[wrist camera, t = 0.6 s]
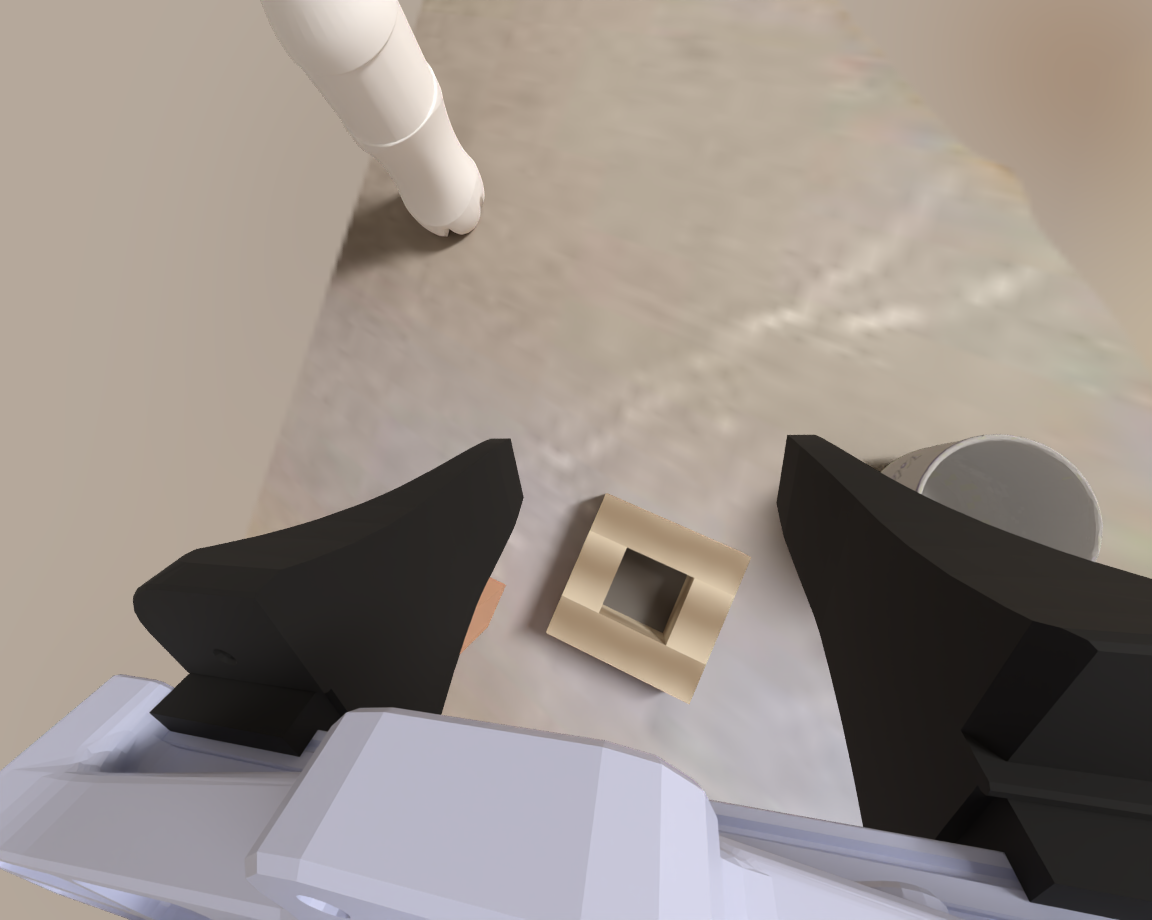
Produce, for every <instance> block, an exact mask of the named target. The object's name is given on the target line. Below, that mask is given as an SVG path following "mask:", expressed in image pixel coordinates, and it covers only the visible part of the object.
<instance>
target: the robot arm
mask: <svg viewBox="0 0 1152 920" xmlns="http://www.w3.org/2000/svg"><path fill="white" fill-rule="evenodd" d="M523 498H524V497H523V493H522V488H521V484H520V479H519V475H518V470H517V466H516V461H515V457H514V452H513V448H512V443H511V439H489V440H486V441H484V442H482V443H480V444H478V445H476V446H474V447H472V448H470V449H468V450H467V451H465V452H463V453H461V454H459V455H458V456H456V457H454V458H452V459H451V460H449V461H447V462H445V463H444V464H442V465H440V466H438V467H437V468H435V469H433V470H431V471H429V472H427V473H425V474H423V475H422V476H420V477H418V478H416V479H414V480H412V481H410V482H408V483H406V484H404V485H402V486H400V487H398V488H396V489H394V490H392V491H390V492H388V493H385V494H383V495H381V496H378V497H376V498H374V499H371V500H369V501H367V502H364V503H362V504H359V505H357V506H354V507H351V508H348V509H345V510H343V511H340V512H337V513H334V514H331V515H329V516H326V517H323V518H320V519H317V520H314V521H311V522H307V523H304V524H301V525H297V526H294V527H290V528H287V529H283V530H279V531H276V532H272V533H268V534H264V535H260V536H256V537H252V538H247V539H242V540H238V541H233V542H229V543H224V544H219V545H215V546H210V547H205V548H200V549H196V550H193V551H191V552H189V553H187V554H185V555H184V556H182V557H181V558H179V559H178V560H177V561H175V562H174V563H172V564H171V565H170V566H168V567H167V568H165V569H164V570H163V571H161V572H160V573H158V574H157V575H156V576H154V577H153V578H151V579H150V580H149V581H147V582H146V583H144V584H143V585H142V586H141V587H139V588H138V589H137V590H136V592H135V594H134V596H133V605H134V611H135V613H136V615H137V617H138V618H139V620H140V622H141V623H142V624H143V625H144V627H145V628H146V629H147V630H148V632H149V633H150V634H151V635H152V636H153V637H154V638H155V639H156V640H157V641H158V642H159V643H160V644H161V645H162V646H163V647H164V648H165V649H166V650H167V651H168V652H169V653H170V654H171V655H172V656H173V657H174V658H175V659H176V660H177V661H178V662H179V663H180V664H181V666H182V667H184V669H185V670H187V672H189V673H190V674H189V675H188V676H186V678H184V679H183V680H182V681H181V683H179V684H178V685H177V686H176V687H175V688H174V687H172V686H170V685H168V684H166V683H164V682H162V681H158V680H154V679H148V678H141V677H135V676H129V675H122V674H120V675H114V676H112V677H111V678H110V679H109V680H108V681H107V682H105V683H104V684H103V685H102V686H101V687H99V688H98V689H97V690H96V691H95V692H94V693H92V694H91V695H90V696H89V697H88V698H86V699H85V700H84V701H83V702H82V703H80V704H79V705H78V706H77V707H76V708H74V709H73V710H72V711H71V712H70V713H68V714H67V715H66V716H65V717H64V718H63V719H61V720H60V721H59V722H58V723H57V724H55V725H54V726H53V727H52V728H51V729H49V730H48V731H47V732H46V733H45V734H43V735H42V736H41V737H40V738H39V739H37V740H36V741H35V742H34V743H33V744H32V745H30V746H29V747H28V748H27V749H26V750H24V751H23V752H22V753H21V754H20V755H18V756H17V757H16V758H15V759H14V760H13V761H11V762H10V763H9V764H8V765H7V766H6V767H4V768H3V769H2V770H1V771H0V869H2V870H4V871H7V872H9V873H11V874H13V875H16V876H18V877H20V878H22V879H25V880H27V881H29V882H31V883H34V884H36V885H38V886H40V887H43V888H45V889H47V890H49V891H52V892H54V893H56V894H59V895H62V896H65V897H68V898H71V899H73V900H77V901H79V902H82V903H85V904H88V905H91V906H93V907H96V908H99V909H102V910H104V911H107V912H110V913H113V914H115V915H118V916H121V917H124V918H127V919H129V920H1152V579H1150V578H1147V577H1143V576H1140V575H1137V574H1133V573H1130V572H1127V571H1123V570H1120V569H1116V568H1113V567H1110V566H1106V565H1103V564H1100V563H1096V562H1093V561H1090V560H1087V559H1084V558H1081V557H1078V556H1075V555H1072V554H1069V553H1066V552H1063V551H1060V550H1057V549H1054V548H1051V547H1048V546H1045V545H1043V544H1040V543H1037V542H1034V541H1032V540H1029V539H1026V538H1023V537H1020V536H1018V535H1015V534H1012V533H1009V532H1007V531H1004V530H1002V529H999V528H997V527H994V526H991V525H989V524H986V523H984V522H982V521H979V520H977V519H975V518H972V517H970V516H968V515H965V514H963V513H961V512H958V511H956V510H954V509H951V508H949V507H947V506H945V505H943V504H940V503H938V502H936V501H934V500H932V499H930V498H928V497H926V496H924V495H922V494H920V493H918V492H916V491H914V490H912V489H910V488H908V487H906V486H904V485H903V484H901V483H899V482H897V481H895V480H893V479H891V478H890V477H888V476H886V475H884V474H882V473H881V472H879V471H877V470H875V469H874V468H872V467H870V466H869V465H867V464H865V463H864V462H862V461H860V460H858V459H857V458H855V457H853V456H852V455H850V454H849V453H847V452H845V451H844V450H842V449H840V448H839V447H837V446H835V445H833V444H832V443H830V442H828V441H826V440H825V439H823V438H821V437H819V436H817V435H787V440H786V447H785V453H784V459H783V466H782V472H781V478H780V485H779V491H778V498H777V507H778V512H779V517H780V522H781V526H782V531H783V535H784V538H785V541H786V544H787V547H788V549H789V552H790V555H791V557H792V560H793V563H794V565H795V568H796V570H797V573H798V576H799V578H800V581H801V583H802V586H803V588H804V591H805V594H806V596H807V599H808V601H809V604H810V607H811V609H812V612H813V614H814V617H815V620H816V623H817V626H818V629H819V632H820V636H821V640H822V644H823V647H824V651H825V655H826V659H827V663H828V667H829V670H830V674H831V679H832V683H833V687H834V691H835V695H836V700H837V704H838V708H839V712H840V716H841V721H842V725H843V730H844V734H845V739H846V744H847V748H848V753H849V758H850V762H851V767H852V772H853V776H854V781H855V786H856V792H857V797H858V802H859V807H860V812H861V818H862V823H863V827H859V826H854V825H848V824H843V823H837V822H831V821H826V820H820V819H815V818H809V817H803V816H798V815H792V814H787V813H781V812H775V811H770V810H764V809H759V808H753V807H747V806H742V805H736V804H731V803H725V802H719V801H714V800H708V797H707V795H706V793H705V791H704V790H703V789H702V788H701V787H700V786H699V785H698V783H697V782H696V781H695V780H694V779H693V778H691V777H689V776H688V775H686V774H685V773H683V772H682V771H680V770H679V769H677V768H675V767H674V766H672V765H671V764H669V763H668V762H666V761H664V760H663V759H661V758H660V757H658V756H657V755H654V754H650V753H647V752H643V751H640V750H636V749H633V748H629V747H626V746H622V745H619V744H616V743H612V742H609V741H605V740H599V739H592V738H586V737H580V736H573V735H567V734H560V733H554V732H547V731H541V730H535V729H528V728H522V727H515V726H509V725H503V724H496V723H490V722H483V721H477V720H471V719H464V718H458V717H451V716H445V715H441V714H442V710H443V707H444V704H445V700H446V697H447V693H448V690H449V687H450V683H451V680H452V677H453V673H454V670H455V667H456V664H457V661H458V658H459V655H460V652H461V649H462V646H463V643H464V640H465V637H466V634H467V631H468V628H469V626H470V623H471V620H472V617H473V615H474V612H475V609H476V606H477V604H478V601H479V599H480V597H481V594H482V592H483V590H484V588H485V586H486V584H487V582H488V580H489V578H490V576H491V574H492V572H493V570H494V568H495V566H496V564H497V562H498V560H499V558H500V556H501V554H502V552H503V549H504V547H505V545H506V543H507V541H508V539H509V537H510V535H511V533H512V531H513V529H514V526H515V524H516V521H517V518H518V515H519V511H520V508H521V504H522V501H523Z"/></svg>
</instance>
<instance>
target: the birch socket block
mask: <svg viewBox="0 0 1152 920" xmlns="http://www.w3.org/2000/svg"><path fill="white" fill-rule="evenodd" d="M750 559H751V557H750V556H748V555H746V554H744V553H742V552H740V551H738V550H736V549H733V548H731V547H729V546H727V545H724V544H722V543H720V542H717V541H715V540H713V539H711V538H708V537H706V536H704V535H701V534H699V533H697V532H695V531H692V530H690V529H688V528H685V527H683V526H681V525H679V524H676V523H674V522H672V521H669V520H667V519H665V518H663V517H660V516H658V515H656V514H653V513H651V512H649V511H647V510H644V509H642V508H640V507H637V506H635V505H633V504H631V503H628V502H626V501H624V500H621V499H619V498H617V497H615V496H612V495H610V494H608V493H606V494H605V496H604V499H603V501H602V503H601V506H600V508H599V510H598V513H597V515H596V517H595V520H594V522H593V524H592V527H591V529H590V531H589V534H588V536H587V538H586V540H585V543H584V545H583V547H582V550H581V552H580V554H579V557H578V559H577V561H576V564H575V566H574V568H573V571H572V573H571V575H570V578H569V580H568V582H567V585H566V587H565V589H564V592H563V594H562V596H561V598H560V601H559V603H558V605H557V608H556V610H555V612H554V615H553V617H552V619H551V622H550V624H549V626H548V629H547V631H546V633H547V634H549V635H551V636H553V637H555V638H557V639H559V640H561V641H563V642H565V643H567V644H569V645H571V646H573V647H575V648H577V649H579V650H581V651H583V652H585V653H587V654H589V655H591V656H593V657H595V658H597V659H599V660H601V661H603V662H605V663H607V664H609V665H611V666H613V667H615V668H617V669H619V670H621V671H623V672H625V673H627V674H629V675H631V676H633V677H635V678H637V679H639V680H641V681H643V682H645V683H647V684H649V685H652V686H654V687H656V688H658V689H660V690H662V691H664V692H666V693H668V694H670V695H672V696H674V697H676V698H678V699H680V700H682V701H684V702H686V703H688V704H690V701H691V699H692V697H693V694H694V692H695V689H696V687H697V685H698V682H699V680H700V678H701V675H702V673H703V670H704V668H705V666H706V663H707V661H708V659H709V656H710V654H711V651H712V649H713V647H714V644H715V642H716V640H717V637H718V635H719V632H720V630H721V628H722V625H723V623H724V621H725V618H726V616H727V614H728V611H729V609H730V606H731V604H732V602H733V599H734V597H735V595H736V592H737V590H738V587H739V585H740V583H741V580H742V578H743V576H744V573H745V571H746V568H747V566H748V564H749V561H750Z"/></svg>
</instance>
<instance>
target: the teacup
mask: <svg viewBox="0 0 1152 920" xmlns="http://www.w3.org/2000/svg"><path fill="white" fill-rule="evenodd" d="M881 473H882V474H884V475H886V476H888V477H890V478H891V479H893V480H895V481H897V482H899V483H901V484H903V485H904V486H906V487H908V488H910V489H912V490H914V491H916V492H918V493H920V494H922V495H924V496H926V497H928V498H930V499H932V500H934V501H936V502H938V503H940V504H943V505H945V506H947V507H949V508H951V509H954V510H956V511H958V512H961V513H963V514H965V515H968V516H970V517H972V518H975V519H977V520H979V521H982V522H984V523H986V524H989V525H991V526H994V527H997V528H999V529H1002V530H1004V531H1007V532H1009V533H1012V534H1015V535H1018V536H1020V537H1023V538H1026V539H1029V540H1032V541H1034V542H1037V543H1040V544H1043V545H1045V546H1048V547H1051V548H1054V549H1057V550H1060V551H1063V552H1066V553H1069V554H1072V555H1075V556H1078V557H1081V558H1084V559H1087V560H1090V561H1093V562H1096V560H1097V558H1098V556H1099V551H1100V548H1101V543H1102V528H1103V523H1102V515H1101V511H1100V508H1099V504H1098V501H1097V498H1096V496H1095V494H1094V492H1093V490H1092V488H1091V487H1090V485H1089V483H1088V482H1087V480H1086V479H1085V478H1084V476H1083V475H1082V474H1081V472H1080V471H1079V470H1078V469H1077V468H1076V467H1075V466H1074V465H1073V464H1072V463H1071V462H1070V461H1069V460H1067V459H1066V458H1065V457H1064V456H1063V455H1061V454H1060V453H1058V452H1057V451H1055V450H1053V449H1051V448H1050V447H1048V446H1046V445H1044V444H1042V443H1039V442H1036V441H1033V440H1030V439H1027V438H1024V437H1018V436H1012V435H1000V434H992V435H981V436H976V437H972V438H968V439H965V440H962V441H958V442H952V443H947V444H941V445H936V446H932V447H928V448H923V449H920V450H917V451H914V452H911V453H908V454H906V455H904V456H902V457H900V458H898V459H896V460H895V461H893V462H892V463H890V464H889V465H888V466H887V467H885V468H884V469H883V470H882V471H881Z"/></svg>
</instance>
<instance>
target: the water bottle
mask: <svg viewBox="0 0 1152 920" xmlns="http://www.w3.org/2000/svg"><path fill="white" fill-rule="evenodd" d="M261 3H262V6H263V8H264V11H265V13H266V15H267V18H268V20H269V23H270V25H271V27H272V29H273V31H274V32H275V35H276V37H277V38H278V40H279V42H280V43H281V45H282V46H283V48H284V49H285V51H286V52H287V54H288V55H289V57H290V58H291V59H292V60H293V61H294V62H295V63H296V64H297V65H298V66H300V67H301V68H302V69H303V71H304V72H305V73H306V75H307V76H308V77H309V79H310V80H311V81H312V82H313V84H314V85H315V86H316V88H317V89H318V90H319V92H320V93H321V94H322V96H323V97H324V98H325V100H326V101H327V102H328V103H329V105H330V106H331V107H332V109H333V110H334V111H335V113H336V114H337V115H338V117H339V118H340V119H341V121H342V123H343V125H344V127H345V129H346V130H347V132H348V133H349V134H350V136H351V137H352V138H353V140H354V141H355V142H356V144H357V145H358V146H359V147H360V148H361V149H362V150H363V151H365V152H367V153H368V154H370V155H371V156H373V157H374V158H375V159H376V160H377V161H378V162H379V163H380V164H381V165H382V166H383V167H384V168H385V169H386V171H387V172H388V173H389V175H390V176H391V178H392V179H393V181H394V183H395V185H396V187H397V189H398V191H399V193H400V196H401V198H402V201H403V203H404V205H405V207H406V208H407V210H408V211H409V212H410V214H411V215H412V216H413V217H414V218H415V219H416V220H417V221H418V222H419V223H420V224H421V225H422V226H423V227H424V228H426V229H427V230H429V231H430V232H432V233H434V234H436V235H439V236H446V237H448V233H449V229H450V230H452V231H453V232H455V233H457V234H461V235H463V234H466V233H469V232H470V231H472V230H473V229H474V228H475V227H476V225H477V223H478V221H479V218H480V207H481V206H483V204H484V198H485V194H484V187H483V182H482V179H481V176H480V173H479V171H478V168H477V166H476V164H475V162H474V161H473V159H472V158H471V157H470V156H469V155H468V154H467V153H466V152H465V151H464V149H463V148H462V146H461V145H460V143H459V141H458V139H457V137H456V135H455V133H454V131H453V128H452V126H451V124H450V121H449V118H448V115H447V112H446V108H445V104H444V101H443V96H442V91H441V88H440V85H439V83H438V81H437V79H436V77H435V74H434V72H433V70H432V69H431V67H430V66H429V64H428V63H427V62H426V60H425V58H424V56H423V54H422V51H421V49H420V47H419V45H418V43H417V41H416V38H415V36H414V34H413V32H412V30H411V28H410V25H409V23H408V21H407V19H406V17H405V15H404V12H403V10H402V8H401V6H400V4H399V2H398V0H261Z"/></svg>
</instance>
